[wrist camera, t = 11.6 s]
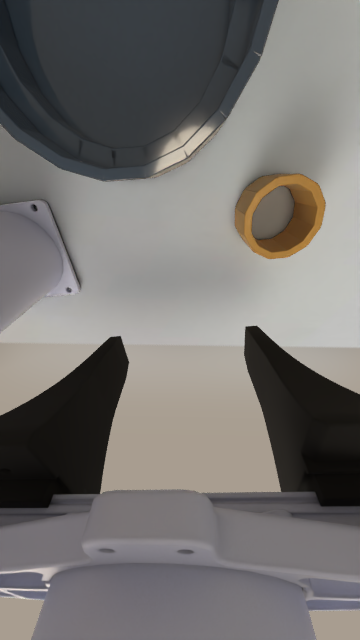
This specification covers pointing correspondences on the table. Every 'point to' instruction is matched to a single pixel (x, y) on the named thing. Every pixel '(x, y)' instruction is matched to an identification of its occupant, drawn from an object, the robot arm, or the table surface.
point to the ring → (300, 226)
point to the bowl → (125, 78)
